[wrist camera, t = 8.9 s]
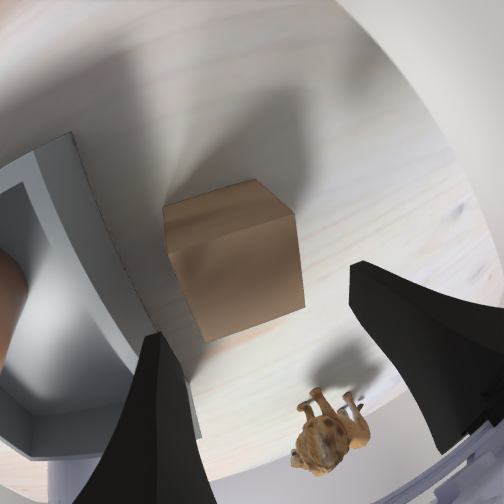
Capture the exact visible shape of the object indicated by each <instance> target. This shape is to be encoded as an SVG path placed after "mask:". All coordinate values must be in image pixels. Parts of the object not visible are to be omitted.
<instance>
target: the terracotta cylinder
mask: <svg viewBox="0 0 504 504" xmlns="http://www.w3.org/2000/svg"><path fill="white" fill-rule="evenodd" d="M27 299H28V286H27V282H26V279H25V276H24V274H23V272H22V270H21V268H20V267H19V265H18V264H17V262H16V261H15V260H14V259H13V258H12V257H11V256H10V255H9V254H8V253H7V252H5V251H4V250H2V249H1V248H0V374H1V371H2V367H3V364H4V361H5V358H6V355H7V352H8V349H9V346H10V343H11V340H12V337H13V335H14V332H15V329H16V327H17V324H18V321H19V319H20V316H21V314H22V312H23V309H24V307H25V304H26V302H27Z"/></svg>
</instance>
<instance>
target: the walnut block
mask: <svg viewBox="0 0 504 504" xmlns="http://www.w3.org/2000/svg"><path fill="white" fill-rule="evenodd" d="M163 216H164V227H165V237H166V246H167V255H168V257H169V260H170V262H171V265H172V267H173V270H174V272H175V275H176V277H177V280H178V282H179V284H180V287H181V289H182V292H183V294H184V296H185V299H186V301H187V303H188V306H189V308H190V310H191V312H192V315H193V317H194V319H195V321H196V324H197V326H198V328H199V330H200V332H201V335H202V337H203V339H204V341H205V343H207V342H211V341H214V340H217V339H220V338H223V337H225V336H228V335H231V334H234V333H237V332H240V331H243V330H246V329H249V328H251V327H254V326H257V325H260V324H262V323H265V322H268V321H271V320H273V319H276V318H279V317H281V316H284V315H287V314H289V313H292V312H294V311H297V310H300V309H302V308H305V299H304V289H303V280H302V271H301V262H300V253H299V245H298V237H297V229H296V221H295V214H294V213H293V212H292V211H291V210H290V209H289V208H288V207H287V206H286V205H284V204H283V203H282V202H281V201H280V200H279V199H278V198H277V197H276V196H274V195H273V194H272V193H271V192H270V191H269V190H268V189H266V188H265V187H264V186H263V185H262V184H261V183H260V182H258V181H257V180H256V179H253V180H249V181H246V182H242V183H239V184H235V185H232V186H228V187H225V188H222V189H218V190H215V191H212V192H209V193H205V194H202V195H199V196H196V197H193V198H189V199H186V200H183V201H180V202H177V203H174V204H171V205H168V206H165V207H163Z"/></svg>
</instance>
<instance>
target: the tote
mask: <svg viewBox="0 0 504 504" xmlns="http://www.w3.org/2000/svg"><path fill="white" fill-rule="evenodd" d="M0 248H1V249H2V250H4V251H5V252H7V253H8V254H9V255H10V256H11V257H12V258H13V259H14V260H15V261H16V262H17V264H18V265H19V267H20V268H21V270H22V272H23V274H24V276H25V279H26V282H27V286H28V299H27V302H26V304H25V307H24V309H23V312H22V314H21V316H20V319H19V321H18V324H17V327H16V329H15V332H14V335H13V337H12V340H11V343H10V346H9V349H8V352H7V355H6V358H5V361H4V364H3V367H2V371H1V374H0V440H1V441H2V442H4V443H5V444H6V445H8V446H9V447H11V448H12V449H13V450H15V451H16V452H18V453H19V454H21V455H22V456H24V457H25V458H27V459H29V460H30V461H59V460H76V459H88V458H98V457H102V455H103V453H104V451H105V449H106V447H107V445H108V443H109V441H110V439H111V437H112V435H113V432H114V430H115V428H116V425H117V423H118V420H119V418H120V415H121V412H122V410H123V407H124V404H125V401H126V398H127V395H128V392H129V389H130V386H131V383H132V379H133V376H134V373H135V369H136V366H137V362H138V359H139V355H140V351H141V348H142V344H143V340H144V338H145V336H147V335H151V334H154V333H157V332H158V331H157V330H156V328H155V326H154V324H153V323H152V321H151V319H150V317H149V315H148V313H147V311H146V310H145V308H144V306H143V304H142V302H141V300H140V298H139V296H138V294H137V292H136V290H135V288H134V286H133V284H132V282H131V280H130V278H129V276H128V274H127V272H126V270H125V268H124V266H123V264H122V262H121V259H120V257H119V255H118V253H117V251H116V249H115V246H114V244H113V242H112V240H111V237H110V235H109V233H108V230H107V228H106V226H105V223H104V221H103V219H102V216H101V214H100V211H99V209H98V206H97V204H96V201H95V199H94V196H93V193H92V191H91V188H90V185H89V183H88V180H87V177H86V174H85V172H84V169H83V166H82V163H81V160H80V157H79V154H78V151H77V148H76V145H75V142H74V138H73V135H72V132H69V133H67V134H65V135H63V136H61V137H58V138H56V139H54V140H52V141H50V142H48V143H46V144H44V145H42V146H40V147H38V148H36V149H34V150H32V151H31V152H29V153H27V154H25V155H23V156H21V157H20V158H18V159H16V160H14V161H12V162H11V163H9V164H7V165H6V166H4V167H2V168H1V169H0ZM184 379H185V382H186V386H187V390H188V396H189V402H190V408H191V415H192V421H193V426H194V432H195V438H196V439H200V438H202V435H201V431H200V427H199V423H198V419H197V415H196V411H195V406H194V402H193V398H192V393H191V389H190V384H189V383H188V381H187V380H186V378H185V377H184Z"/></svg>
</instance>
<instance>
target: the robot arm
mask: <svg viewBox="0 0 504 504" xmlns="http://www.w3.org/2000/svg"><path fill="white" fill-rule="evenodd" d="M349 306H350V308H351V309H352V311H353V313H354V314H355V316H356V318H357V319H358V321H359V322H360V324H361V325H362V327H363V328H364V329H365V330H366V331H367V333H368V334H369V335H370V336H371V338H372V339H373V340H374V341H375V342H376V344H377V345H378V346H379V347H380V349H381V350H382V351H383V352H384V353H385V355H386V356H387V357H388V358H389V360H390V361H391V362H392V363H393V365H394V366H395V367H396V369H397V370H398V372H399V373H400V375H401V376H402V378H403V380H404V381H405V383H406V385H407V386H408V388H409V390H410V391H411V393H412V395H413V397H414V398H415V400H416V402H417V404H418V406H419V408H420V410H421V412H422V414H423V416H424V418H425V420H426V422H427V425H428V427H429V429H430V432H431V434H432V437H433V439H434V442H435V445H436V448H437V449H438V451H439V452H440V453H441V454H442V455H443V454H444V453H446V452H447V451H448V450H449V449H451V448H452V447H453V446H454V445H456V444H457V443H458V442H459V441H461V440H462V439H463V438H464V437H465V436H466V435H468V434H469V435H470V437H468V438H467V439H466V440H465V441H464V442H463V443H461V444H460V445H459V446H458V447H457V448H455V449H454V450H453V451H452V452H451V453H449V454H448V455H447V456H445V457H444V458H443V459H441V460H440V461H439V462H437V463H436V464H435V465H434V466H432V467H430V468H429V469H428V470H426V471H425V472H423V473H422V474H420V475H419V476H417V477H416V478H414V479H413V480H411V481H410V482H408V483H407V484H405V485H403V486H402V487H400V488H399V489H397V490H395V491H394V492H392V493H390V494H389V495H387V496H385V497H383V498H382V499H380V500H378V501H376V502H374V503H372V504H406V503H407V502H409V501H411V500H412V499H414V498H415V497H417V496H418V495H420V494H421V493H423V492H424V491H426V490H427V489H429V488H430V487H431V486H433V485H434V484H436V483H437V482H438V481H440V480H441V479H442V478H444V477H445V476H446V475H448V474H449V473H450V472H451V471H453V470H454V469H455V468H456V467H457V466H459V465H460V464H461V463H462V462H464V461H465V460H466V459H467V465H466V466H465V467H464V468H462V469H461V470H460V471H458V472H457V473H455V474H454V475H453V476H451V477H450V478H449V479H447V480H446V481H445V482H444V483H443V484H441V485H440V486H439V487H438V488H436V489H435V490H434V492H433V493H434V494H435V496H436V497H437V498H436V499H434V500H433V501H431V502H430V503H428V504H504V308H498V307H491V306H486V305H481V304H476V303H472V302H468V301H464V300H460V299H457V298H454V297H450V296H447V295H444V294H441V293H438V292H436V291H433V290H431V289H428V288H425V287H423V286H421V285H418V284H416V283H413V282H411V281H409V280H407V279H404V278H402V277H400V276H398V275H395V274H393V273H391V272H389V271H387V270H384V269H382V268H380V267H378V266H376V265H373V264H371V263H369V262H366V261H364V260H363V261H360V262H358V263H355V264H353V265H350V285H349ZM48 504H217V502H216V500H215V497H214V495H213V492H212V490H211V487H210V485H209V481H208V479H207V476H206V473H205V470H204V467H203V464H202V461H201V458H200V455H199V451H198V447H197V443H196V438H195V432H194V426H193V421H192V415H191V408H190V402H189V396H188V390H187V386H186V382H185V379H184V375H183V371H182V367H181V365H180V363H179V362H178V360H177V358H176V356H175V355H174V353H173V351H172V350H171V348H170V346H169V344H168V343H167V341H166V339H165V337H164V336H163V334H162V332H157V333H154V334H151V335H147V336H145V338H144V340H143V344H142V348H141V351H140V355H139V359H138V362H137V366H136V369H135V373H134V376H133V379H132V383H131V386H130V389H129V392H128V395H127V398H126V401H125V404H124V407H123V410H122V412H121V415H120V418H119V420H118V423H117V425H116V428H115V430H114V432H113V435H112V437H111V439H110V441H109V443H108V445H107V447H106V449H105V451H104V453H103V455H102V457H98V458H88V459H76V460H59V461H48Z"/></svg>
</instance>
